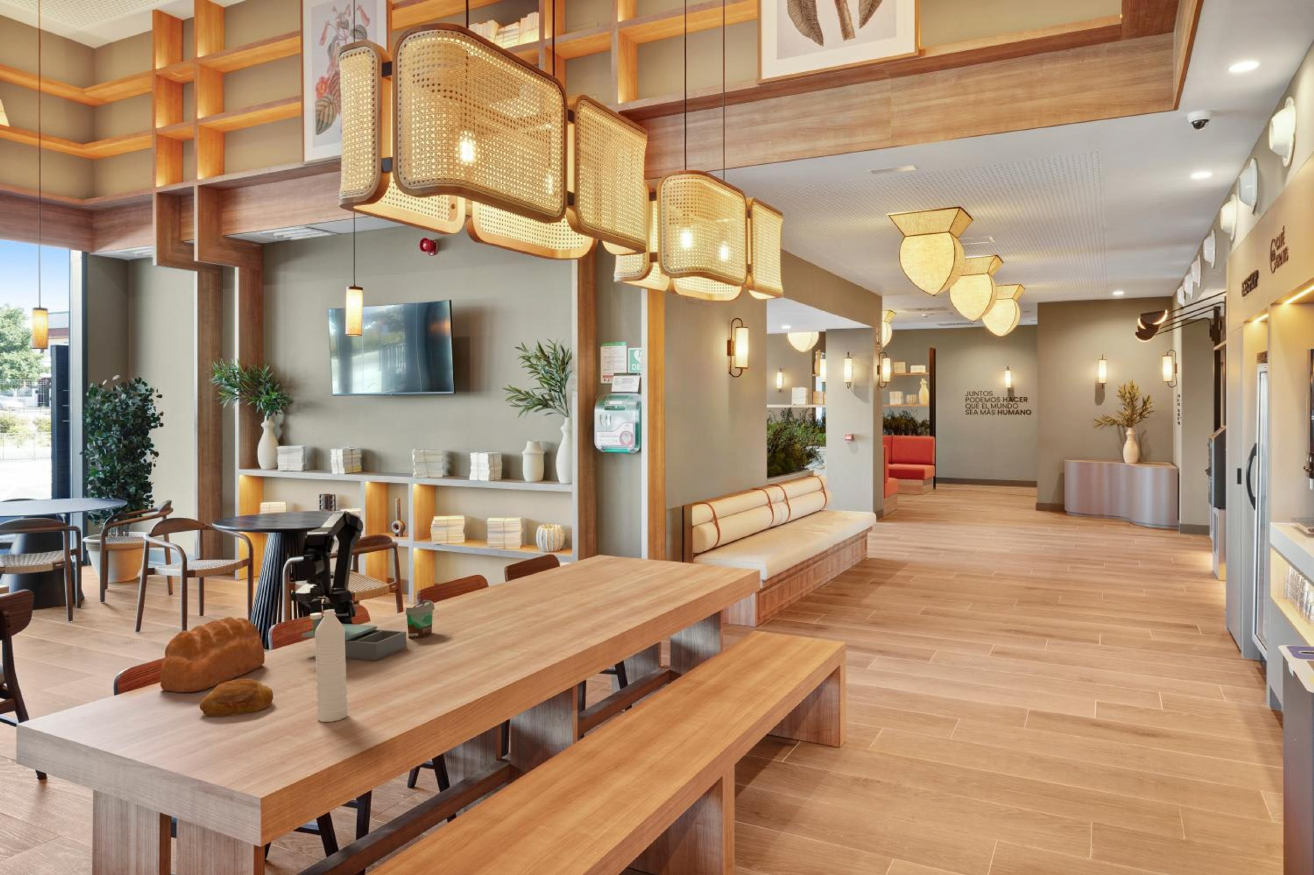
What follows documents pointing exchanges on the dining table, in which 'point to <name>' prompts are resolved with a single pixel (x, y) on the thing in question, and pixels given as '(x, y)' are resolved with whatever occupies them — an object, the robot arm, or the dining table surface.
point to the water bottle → (330, 667)
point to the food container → (420, 620)
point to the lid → (350, 629)
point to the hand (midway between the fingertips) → (322, 624)
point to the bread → (211, 655)
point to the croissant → (236, 698)
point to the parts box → (375, 645)
